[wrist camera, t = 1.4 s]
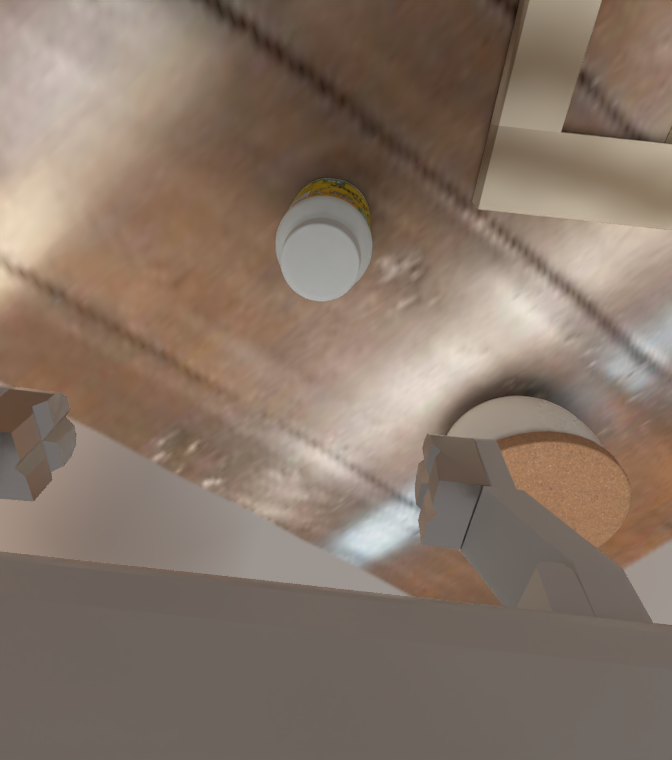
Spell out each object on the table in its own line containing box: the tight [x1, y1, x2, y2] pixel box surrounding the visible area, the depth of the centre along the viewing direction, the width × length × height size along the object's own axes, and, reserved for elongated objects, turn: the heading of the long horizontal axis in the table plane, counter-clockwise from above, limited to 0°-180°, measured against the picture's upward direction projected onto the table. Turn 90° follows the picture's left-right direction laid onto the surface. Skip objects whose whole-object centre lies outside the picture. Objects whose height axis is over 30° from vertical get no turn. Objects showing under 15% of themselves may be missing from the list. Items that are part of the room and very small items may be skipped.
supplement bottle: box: [275, 178, 373, 301], centre depth 27 cm, size 5×5×10 cm
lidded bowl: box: [446, 396, 631, 553], centre depth 35 cm, size 13×13×11 cm
